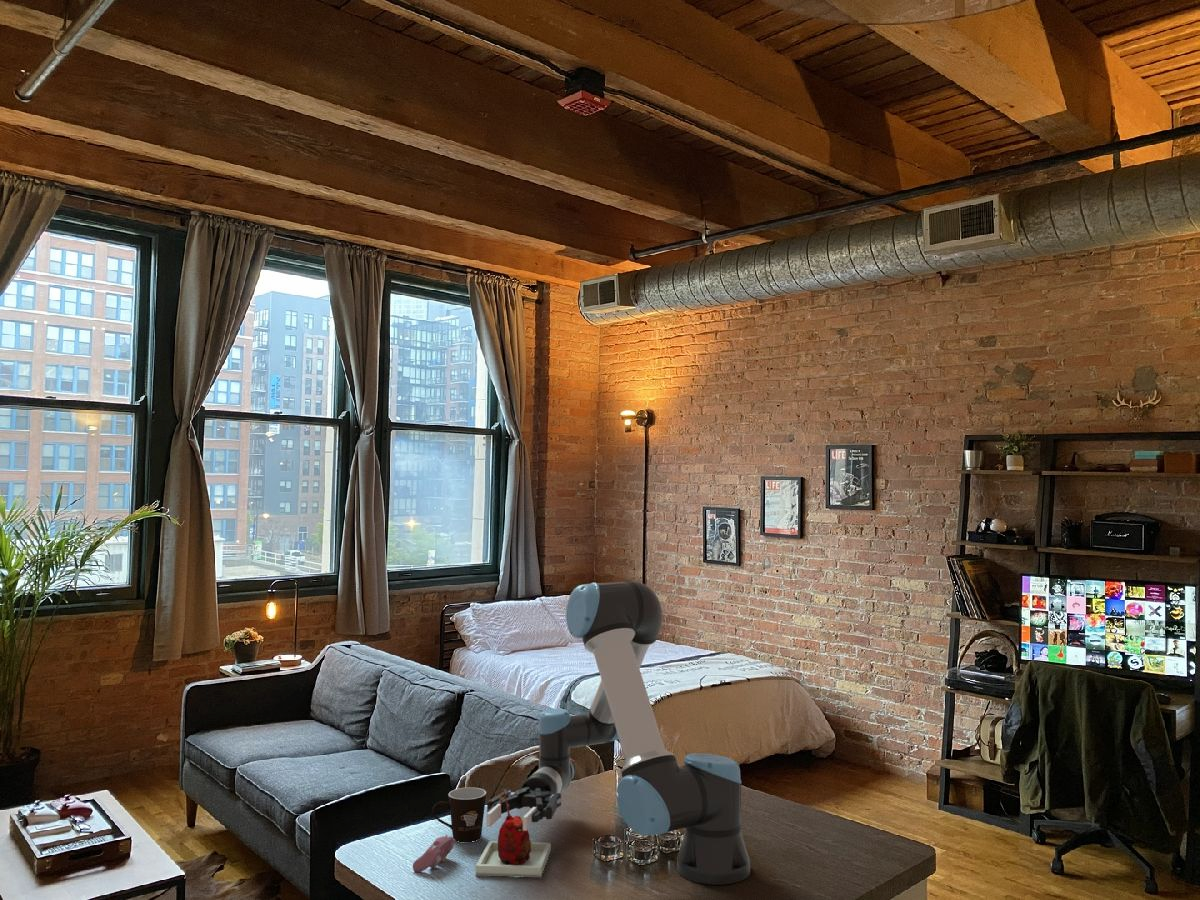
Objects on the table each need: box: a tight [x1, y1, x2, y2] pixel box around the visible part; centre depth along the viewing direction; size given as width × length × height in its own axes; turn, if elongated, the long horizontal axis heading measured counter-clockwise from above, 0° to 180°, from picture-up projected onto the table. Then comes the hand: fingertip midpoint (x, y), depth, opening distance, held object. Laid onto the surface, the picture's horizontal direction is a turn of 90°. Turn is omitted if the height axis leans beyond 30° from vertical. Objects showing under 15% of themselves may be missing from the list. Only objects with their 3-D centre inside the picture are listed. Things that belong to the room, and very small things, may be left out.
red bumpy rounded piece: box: [497, 787, 532, 865], centre depth 191 cm, size 8×7×15 cm
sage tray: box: [475, 840, 552, 878], centre depth 190 cm, size 14×14×2 cm
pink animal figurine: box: [412, 834, 457, 873], centre depth 190 cm, size 10×5×7 cm, turn 161°
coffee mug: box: [431, 787, 487, 843], centre depth 205 cm, size 12×9×10 cm
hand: (506, 822), depth 186 cm, fingers open, 7 cm apart
